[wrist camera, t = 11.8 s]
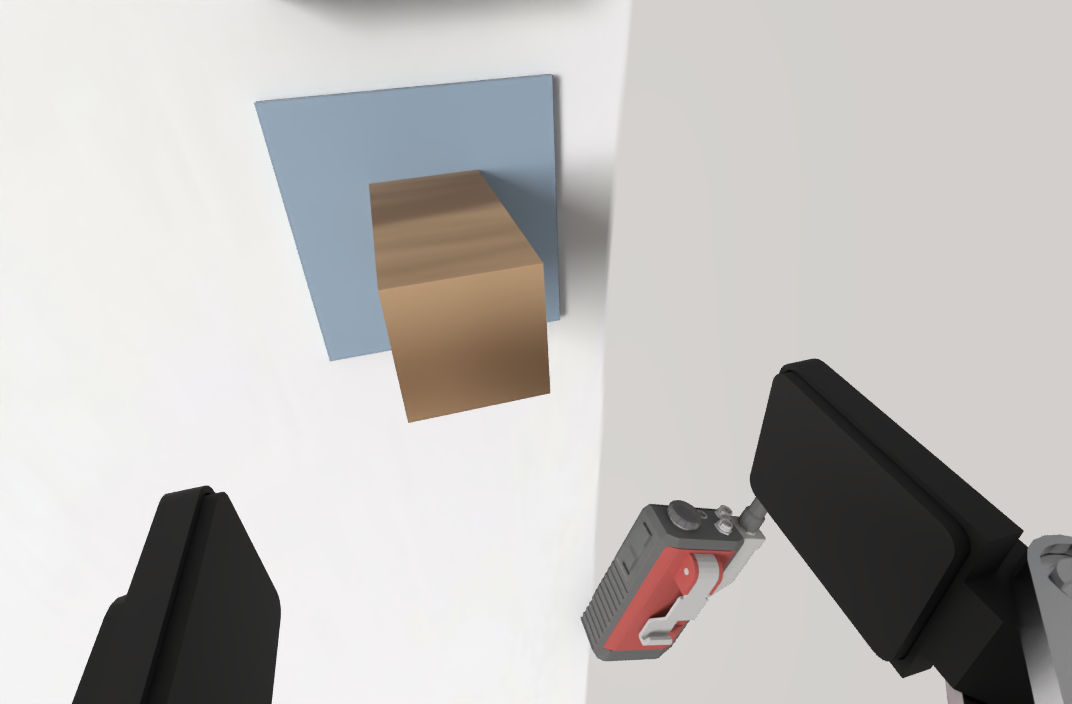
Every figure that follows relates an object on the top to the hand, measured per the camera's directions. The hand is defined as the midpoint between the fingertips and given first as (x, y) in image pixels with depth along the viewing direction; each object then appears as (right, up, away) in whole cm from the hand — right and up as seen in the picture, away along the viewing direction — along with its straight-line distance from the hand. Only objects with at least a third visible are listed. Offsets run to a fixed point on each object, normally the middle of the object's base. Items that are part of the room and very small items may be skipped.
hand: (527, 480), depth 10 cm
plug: (-4, +7, +12) cm, 15 cm away
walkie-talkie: (+10, -10, +28) cm, 31 cm away
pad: (-4, +7, +13) cm, 15 cm away
